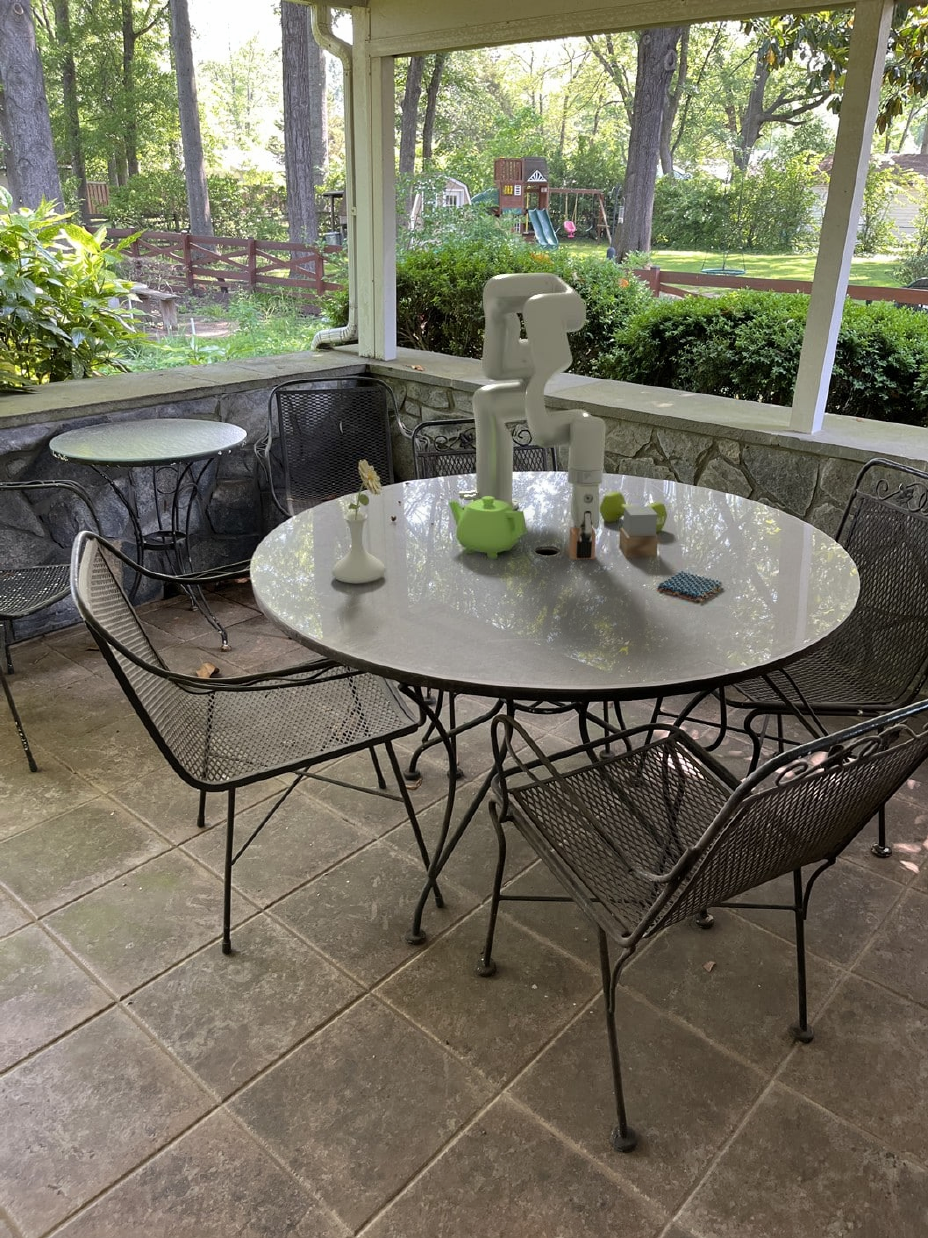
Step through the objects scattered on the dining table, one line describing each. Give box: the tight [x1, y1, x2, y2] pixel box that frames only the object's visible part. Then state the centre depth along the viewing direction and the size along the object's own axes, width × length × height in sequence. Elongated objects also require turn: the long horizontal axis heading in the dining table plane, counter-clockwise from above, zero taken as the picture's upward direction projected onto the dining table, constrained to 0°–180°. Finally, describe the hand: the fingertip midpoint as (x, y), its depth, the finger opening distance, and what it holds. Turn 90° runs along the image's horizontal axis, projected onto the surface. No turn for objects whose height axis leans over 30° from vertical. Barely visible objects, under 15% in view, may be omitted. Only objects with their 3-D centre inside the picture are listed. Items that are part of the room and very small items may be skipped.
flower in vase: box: [331, 459, 387, 585], centre depth 181 cm, size 13×11×25 cm
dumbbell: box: [599, 491, 668, 534], centre depth 214 cm, size 16×8×7 cm, turn 42°
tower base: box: [618, 527, 659, 559], centre depth 197 cm, size 7×7×5 cm
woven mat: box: [656, 570, 723, 603], centre depth 178 cm, size 10×11×2 cm
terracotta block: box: [568, 526, 597, 560], centre depth 195 cm, size 5×5×6 cm
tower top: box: [622, 505, 657, 537], centre depth 195 cm, size 6×6×5 cm
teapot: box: [448, 496, 528, 559], centre depth 198 cm, size 20×13×13 cm
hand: (581, 552), depth 196 cm, fingers open, 5 cm apart
